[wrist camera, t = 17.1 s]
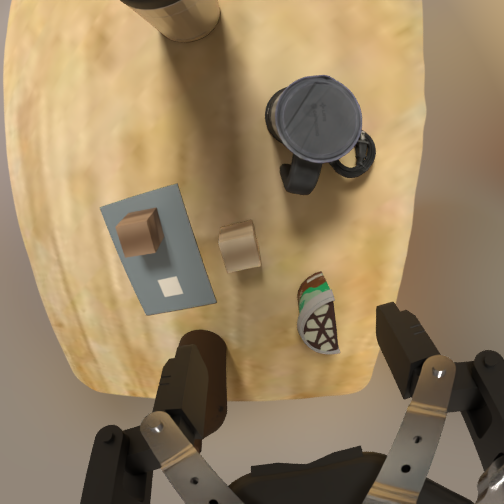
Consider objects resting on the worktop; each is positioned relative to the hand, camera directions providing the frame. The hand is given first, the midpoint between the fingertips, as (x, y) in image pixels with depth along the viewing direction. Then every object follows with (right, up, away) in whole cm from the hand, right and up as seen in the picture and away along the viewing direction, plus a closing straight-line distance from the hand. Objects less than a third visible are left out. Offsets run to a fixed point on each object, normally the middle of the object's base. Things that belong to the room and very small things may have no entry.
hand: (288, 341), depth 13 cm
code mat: (-17, +3, +38) cm, 42 cm away
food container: (+8, -4, +43) cm, 44 cm away
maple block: (-3, +6, +37) cm, 38 cm away
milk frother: (+8, +22, +30) cm, 38 cm away
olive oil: (-11, -15, +47) cm, 51 cm away
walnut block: (-18, +8, +35) cm, 41 cm away
